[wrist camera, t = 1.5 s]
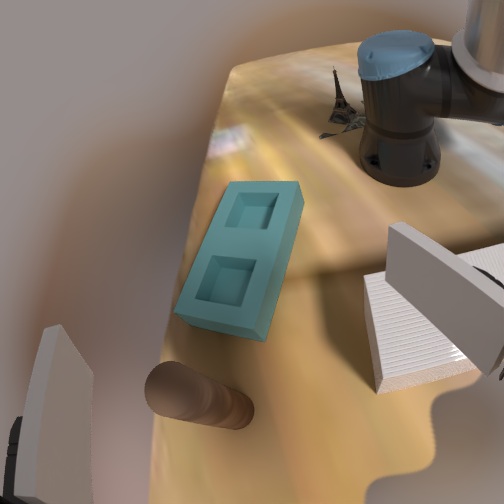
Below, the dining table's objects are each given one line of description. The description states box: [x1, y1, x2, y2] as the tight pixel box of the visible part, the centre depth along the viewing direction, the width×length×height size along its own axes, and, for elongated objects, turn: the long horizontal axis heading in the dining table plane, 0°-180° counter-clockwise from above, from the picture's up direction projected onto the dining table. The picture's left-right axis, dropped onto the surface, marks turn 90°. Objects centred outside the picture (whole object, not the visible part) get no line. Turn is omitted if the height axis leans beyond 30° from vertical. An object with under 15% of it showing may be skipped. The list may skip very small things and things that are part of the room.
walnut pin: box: [145, 361, 254, 430], centre depth 31 cm, size 5×5×16 cm
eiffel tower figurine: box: [319, 66, 366, 139], centre depth 58 cm, size 15×10×13 cm
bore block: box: [173, 181, 304, 342], centre depth 47 cm, size 24×12×5 cm, turn 162°
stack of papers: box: [364, 243, 504, 395], centre depth 28 cm, size 32×11×11 cm, turn 91°
